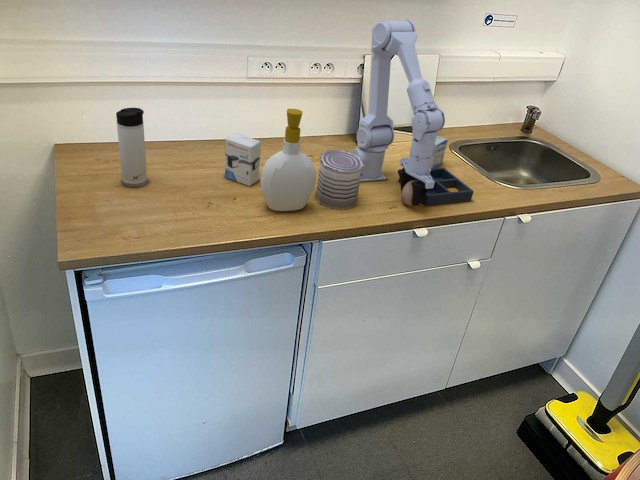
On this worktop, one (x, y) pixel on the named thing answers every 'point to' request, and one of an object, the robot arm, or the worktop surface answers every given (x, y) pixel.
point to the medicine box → (438, 152)
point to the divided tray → (445, 189)
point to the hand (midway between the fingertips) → (410, 199)
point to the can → (338, 179)
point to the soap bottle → (288, 171)
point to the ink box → (242, 159)
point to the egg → (407, 193)
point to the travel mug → (132, 146)
